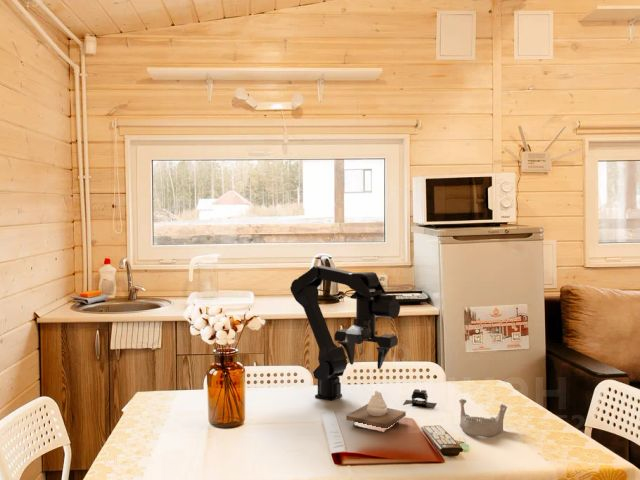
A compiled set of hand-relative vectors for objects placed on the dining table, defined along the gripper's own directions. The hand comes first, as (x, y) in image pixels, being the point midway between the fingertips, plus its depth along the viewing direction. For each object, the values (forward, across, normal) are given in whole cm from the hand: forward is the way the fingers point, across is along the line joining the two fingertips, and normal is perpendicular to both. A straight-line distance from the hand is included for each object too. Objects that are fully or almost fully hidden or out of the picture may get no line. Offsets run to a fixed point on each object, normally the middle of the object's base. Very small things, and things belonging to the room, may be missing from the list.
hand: (365, 366), depth 183 cm
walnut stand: (+12, +10, -12) cm, 20 cm away
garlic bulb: (+9, +10, -12) cm, 18 cm away
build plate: (+13, +13, +11) cm, 21 cm away
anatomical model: (+12, +35, -1) cm, 37 cm away
